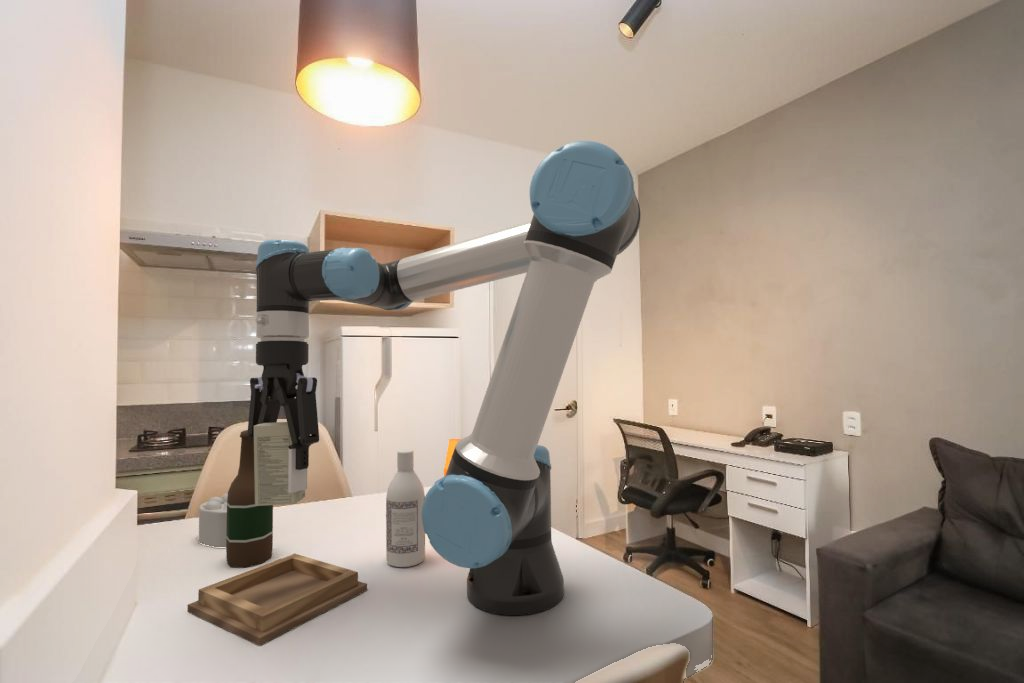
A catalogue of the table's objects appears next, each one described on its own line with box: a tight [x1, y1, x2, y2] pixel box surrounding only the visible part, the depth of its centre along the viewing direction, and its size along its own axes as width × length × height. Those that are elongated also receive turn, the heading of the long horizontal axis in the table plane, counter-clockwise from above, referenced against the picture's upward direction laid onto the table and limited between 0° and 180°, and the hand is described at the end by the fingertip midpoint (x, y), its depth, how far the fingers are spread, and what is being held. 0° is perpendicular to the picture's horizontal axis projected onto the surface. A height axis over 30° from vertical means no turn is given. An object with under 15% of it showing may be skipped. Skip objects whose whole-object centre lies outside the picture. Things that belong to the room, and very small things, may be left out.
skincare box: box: [254, 421, 306, 506], centre depth 77 cm, size 6×4×12 cm
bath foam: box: [385, 449, 426, 568], centre depth 91 cm, size 7×7×20 cm
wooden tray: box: [187, 553, 368, 647], centre depth 76 cm, size 18×18×3 cm
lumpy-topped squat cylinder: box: [198, 492, 228, 547], centre depth 105 cm, size 10×13×9 cm
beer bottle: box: [225, 429, 274, 568], centre depth 93 cm, size 8×8×24 cm
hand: (281, 487), depth 77 cm, fingers closed on skincare box, 7 cm apart
